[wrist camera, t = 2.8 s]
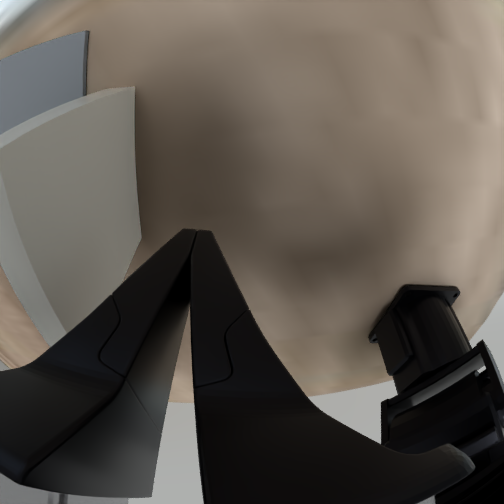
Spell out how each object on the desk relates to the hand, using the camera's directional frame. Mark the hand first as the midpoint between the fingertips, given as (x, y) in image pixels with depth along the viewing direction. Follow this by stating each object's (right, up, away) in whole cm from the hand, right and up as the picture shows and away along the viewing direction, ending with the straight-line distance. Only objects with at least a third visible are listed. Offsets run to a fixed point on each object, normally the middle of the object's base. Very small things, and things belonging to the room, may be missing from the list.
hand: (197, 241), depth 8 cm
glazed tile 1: (-5, +4, +4) cm, 7 cm away
